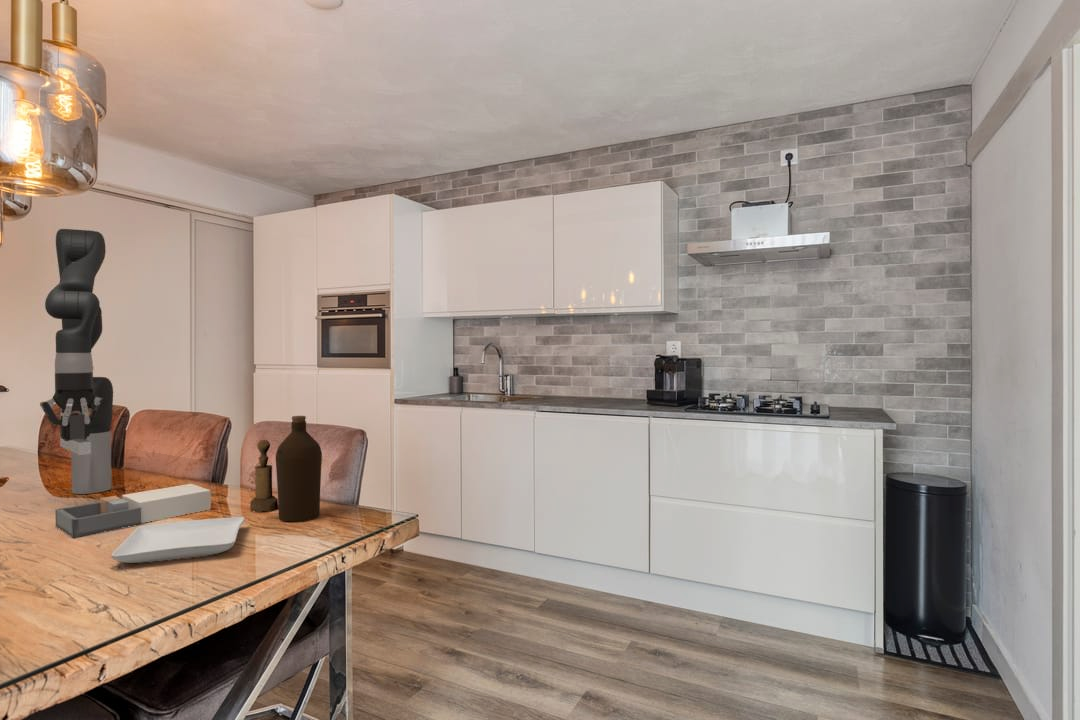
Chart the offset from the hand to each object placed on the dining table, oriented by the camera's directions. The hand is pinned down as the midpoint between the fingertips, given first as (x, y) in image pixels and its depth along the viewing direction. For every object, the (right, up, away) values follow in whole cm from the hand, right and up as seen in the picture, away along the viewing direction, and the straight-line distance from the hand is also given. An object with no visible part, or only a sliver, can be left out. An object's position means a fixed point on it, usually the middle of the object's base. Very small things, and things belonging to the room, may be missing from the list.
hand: (75, 439), depth 149 cm
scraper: (0, -3, 0) cm, 3 cm away
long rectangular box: (+22, -19, +2) cm, 29 cm away
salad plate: (+42, -20, -24) cm, 52 cm away
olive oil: (+57, -19, -2) cm, 60 cm away
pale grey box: (+17, -16, -7) cm, 25 cm away
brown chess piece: (+45, -19, +5) cm, 49 cm away
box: (+13, -19, -9) cm, 25 cm away
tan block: (+14, -16, -4) cm, 21 cm away
